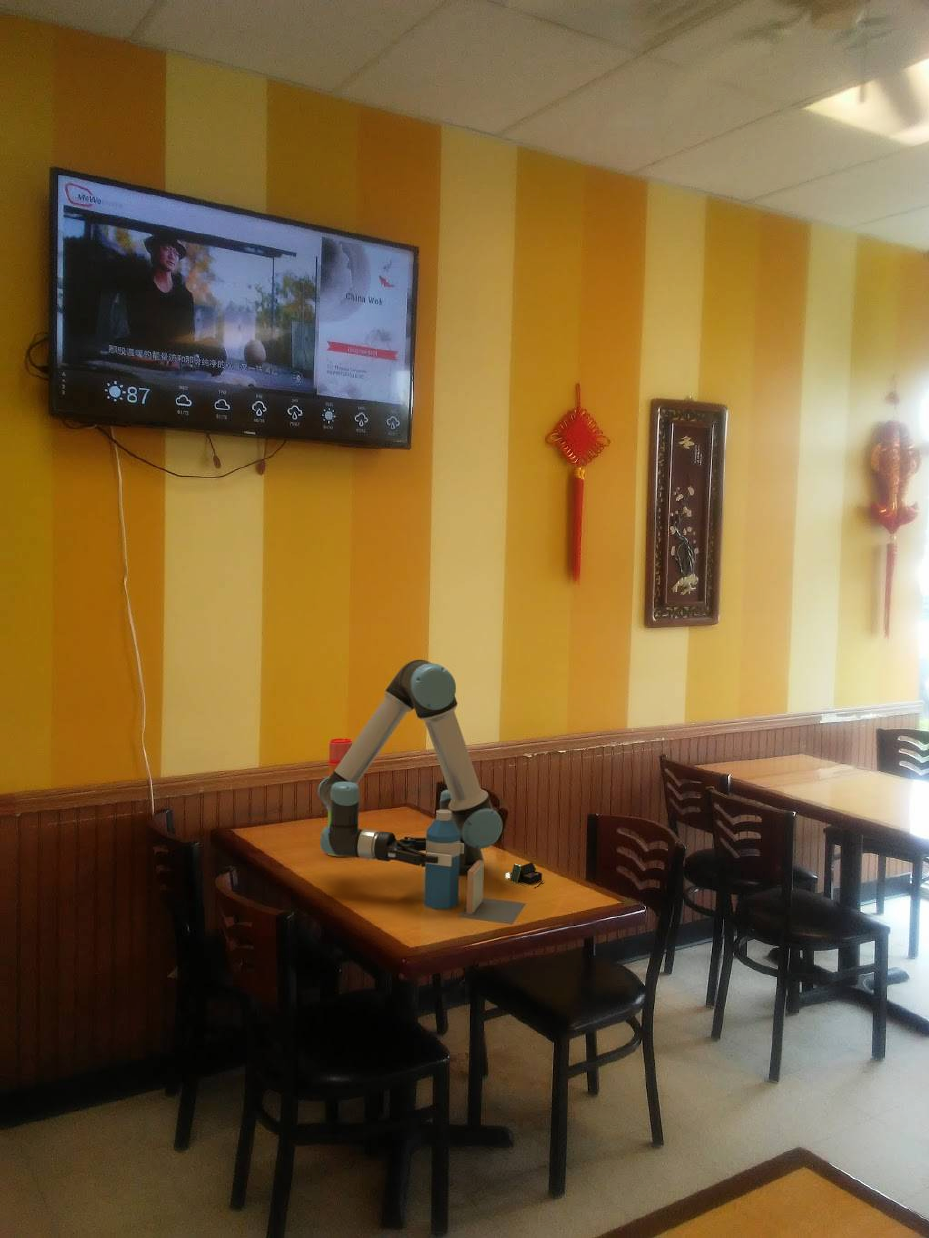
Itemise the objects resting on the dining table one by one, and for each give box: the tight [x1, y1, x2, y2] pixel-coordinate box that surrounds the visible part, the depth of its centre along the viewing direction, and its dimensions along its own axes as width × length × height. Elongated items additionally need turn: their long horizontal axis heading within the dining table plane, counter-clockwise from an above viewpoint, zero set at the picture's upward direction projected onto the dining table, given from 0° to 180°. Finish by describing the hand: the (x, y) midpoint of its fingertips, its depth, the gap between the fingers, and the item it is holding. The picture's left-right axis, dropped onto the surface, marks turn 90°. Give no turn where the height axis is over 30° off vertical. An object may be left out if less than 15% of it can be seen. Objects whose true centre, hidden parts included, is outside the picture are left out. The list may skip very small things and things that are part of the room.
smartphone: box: [505, 861, 545, 888], centre depth 290 cm, size 15×15×6 cm
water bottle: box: [423, 809, 460, 910], centre depth 267 cm, size 9×9×25 cm
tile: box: [466, 860, 485, 914], centre depth 265 cm, size 10×2×11 cm, turn 164°
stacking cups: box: [325, 737, 353, 857], centre depth 310 cm, size 10×10×35 cm
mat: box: [458, 897, 527, 925], centre depth 264 cm, size 16×14×1 cm
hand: (457, 854), depth 265 cm, fingers open, 11 cm apart
